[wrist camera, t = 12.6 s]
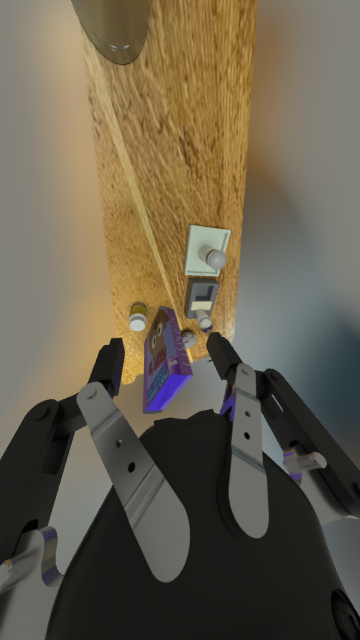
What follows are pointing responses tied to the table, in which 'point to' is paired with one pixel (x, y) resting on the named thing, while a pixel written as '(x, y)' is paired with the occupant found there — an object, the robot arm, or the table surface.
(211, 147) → the table surface
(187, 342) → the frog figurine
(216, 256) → the cylinder
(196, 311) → the fuse block
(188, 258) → the pale green flat frame
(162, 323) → the cereal box
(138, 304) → the supplement bottle
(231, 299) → the table surface
